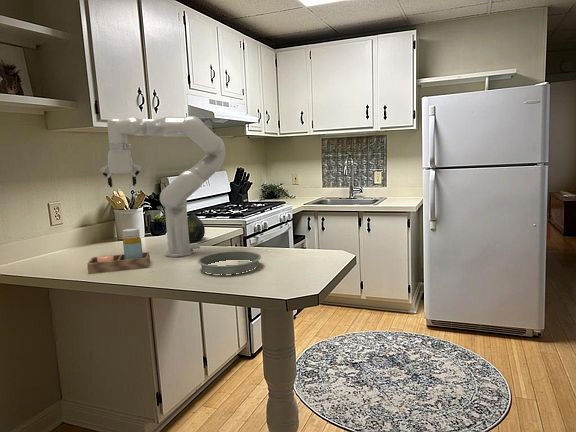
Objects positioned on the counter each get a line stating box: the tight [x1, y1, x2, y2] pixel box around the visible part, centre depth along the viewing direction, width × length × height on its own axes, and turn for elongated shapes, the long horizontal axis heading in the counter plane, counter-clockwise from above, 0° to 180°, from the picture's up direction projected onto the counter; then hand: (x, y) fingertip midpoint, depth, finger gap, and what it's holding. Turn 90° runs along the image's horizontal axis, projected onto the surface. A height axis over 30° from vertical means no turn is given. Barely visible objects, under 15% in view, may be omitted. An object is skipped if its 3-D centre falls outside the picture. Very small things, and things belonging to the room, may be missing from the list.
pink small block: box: [96, 254, 114, 262], centre depth 178 cm, size 6×6×5 cm
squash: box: [187, 213, 206, 243], centre depth 232 cm, size 14×15×15 cm
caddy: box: [86, 251, 151, 275], centre depth 179 cm, size 22×12×5 cm, turn 104°
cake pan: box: [197, 250, 262, 275], centre depth 174 cm, size 25×25×4 cm
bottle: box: [122, 228, 143, 260], centre depth 180 cm, size 7×7×15 cm
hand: (122, 186), depth 197 cm, fingers open, 9 cm apart
